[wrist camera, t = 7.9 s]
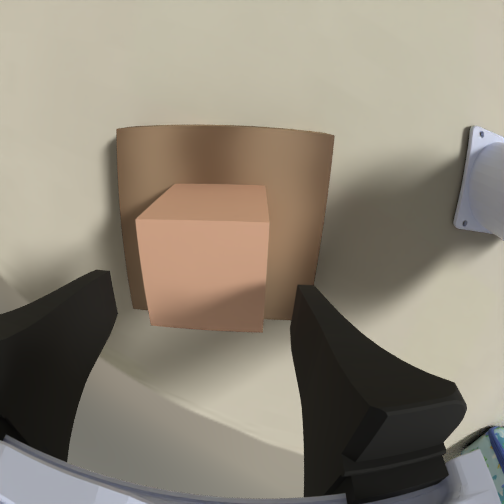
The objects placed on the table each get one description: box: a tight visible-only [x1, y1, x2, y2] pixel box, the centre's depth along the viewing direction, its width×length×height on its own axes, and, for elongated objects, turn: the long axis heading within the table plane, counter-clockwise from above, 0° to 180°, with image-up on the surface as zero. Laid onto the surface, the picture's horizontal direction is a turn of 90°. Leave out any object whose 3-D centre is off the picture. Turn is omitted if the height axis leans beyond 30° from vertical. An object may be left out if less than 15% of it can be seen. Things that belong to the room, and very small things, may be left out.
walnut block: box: [117, 125, 334, 320], centre depth 19 cm, size 12×12×3 cm
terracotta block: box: [135, 184, 270, 332], centre depth 15 cm, size 5×5×6 cm
